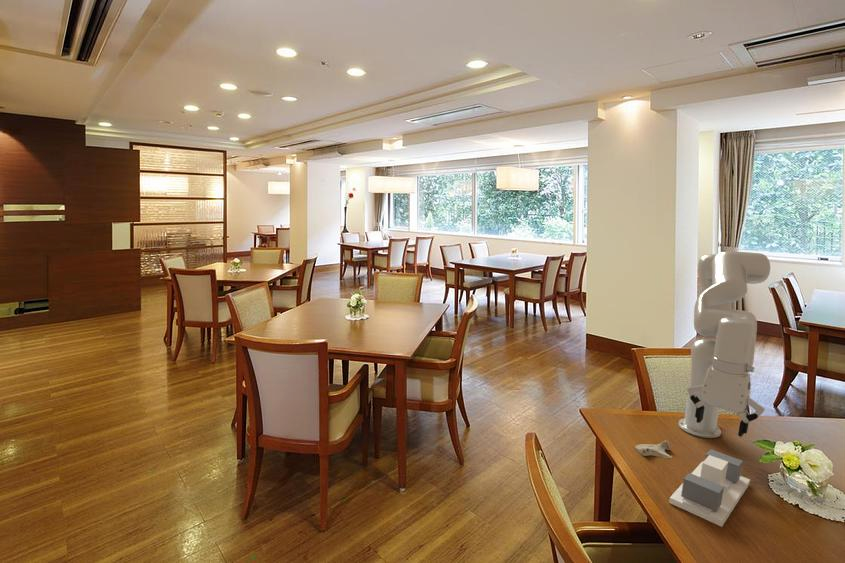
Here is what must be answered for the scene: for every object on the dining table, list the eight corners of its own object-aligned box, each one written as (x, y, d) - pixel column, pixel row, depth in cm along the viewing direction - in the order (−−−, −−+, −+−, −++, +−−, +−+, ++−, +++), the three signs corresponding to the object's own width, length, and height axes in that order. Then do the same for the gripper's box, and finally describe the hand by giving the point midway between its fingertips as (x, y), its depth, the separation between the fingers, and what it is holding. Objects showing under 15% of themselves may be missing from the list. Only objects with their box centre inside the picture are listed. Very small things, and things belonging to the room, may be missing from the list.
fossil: (678, 460, 144) (679, 449, 144) (642, 458, 145) (643, 448, 144) (667, 448, 151) (668, 438, 151) (632, 446, 151) (634, 436, 151)
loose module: (705, 478, 131) (709, 454, 130) (724, 485, 128) (728, 461, 127) (698, 487, 127) (702, 462, 126) (718, 495, 124) (721, 470, 122)
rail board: (701, 466, 141) (704, 444, 140) (749, 484, 132) (753, 461, 131) (669, 502, 123) (672, 478, 122) (721, 526, 115) (726, 500, 113)
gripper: (773, 372, 118) (762, 435, 122) (697, 353, 131) (688, 412, 134) (766, 379, 113) (755, 445, 117) (687, 359, 126) (679, 420, 129)
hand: (719, 427), depth 125 cm, fingers open, 9 cm apart
